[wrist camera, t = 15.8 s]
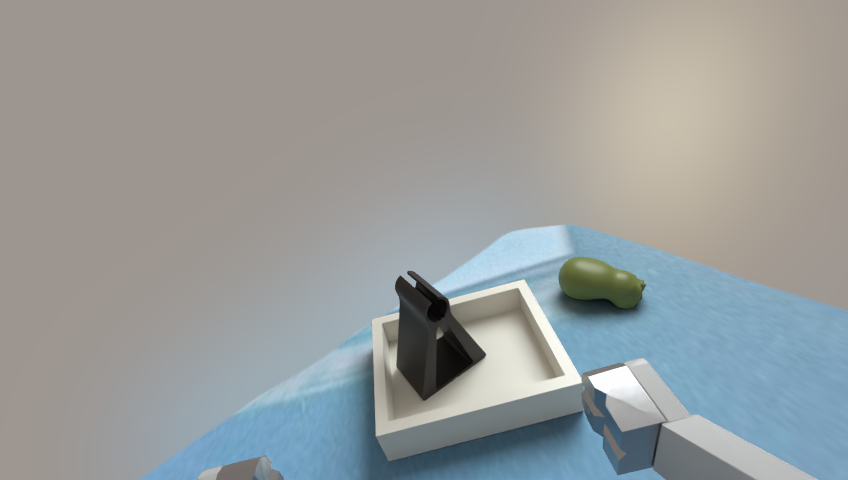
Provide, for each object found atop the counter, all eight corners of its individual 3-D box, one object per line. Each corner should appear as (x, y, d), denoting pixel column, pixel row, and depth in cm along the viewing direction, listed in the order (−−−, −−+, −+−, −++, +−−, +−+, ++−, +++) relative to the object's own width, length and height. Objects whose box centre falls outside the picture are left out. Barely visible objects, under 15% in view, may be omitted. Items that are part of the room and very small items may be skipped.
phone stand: (456, 328, 51) (437, 254, 45) (486, 356, 46) (470, 277, 40) (396, 368, 48) (367, 293, 41) (423, 402, 43) (394, 324, 37)
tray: (388, 461, 40) (375, 436, 37) (381, 343, 53) (372, 319, 51) (583, 410, 40) (583, 382, 37) (527, 305, 53) (524, 279, 51)
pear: (565, 245, 53) (649, 262, 49) (560, 275, 56) (638, 293, 52) (558, 271, 49) (648, 292, 45) (552, 301, 52) (636, 323, 48)
